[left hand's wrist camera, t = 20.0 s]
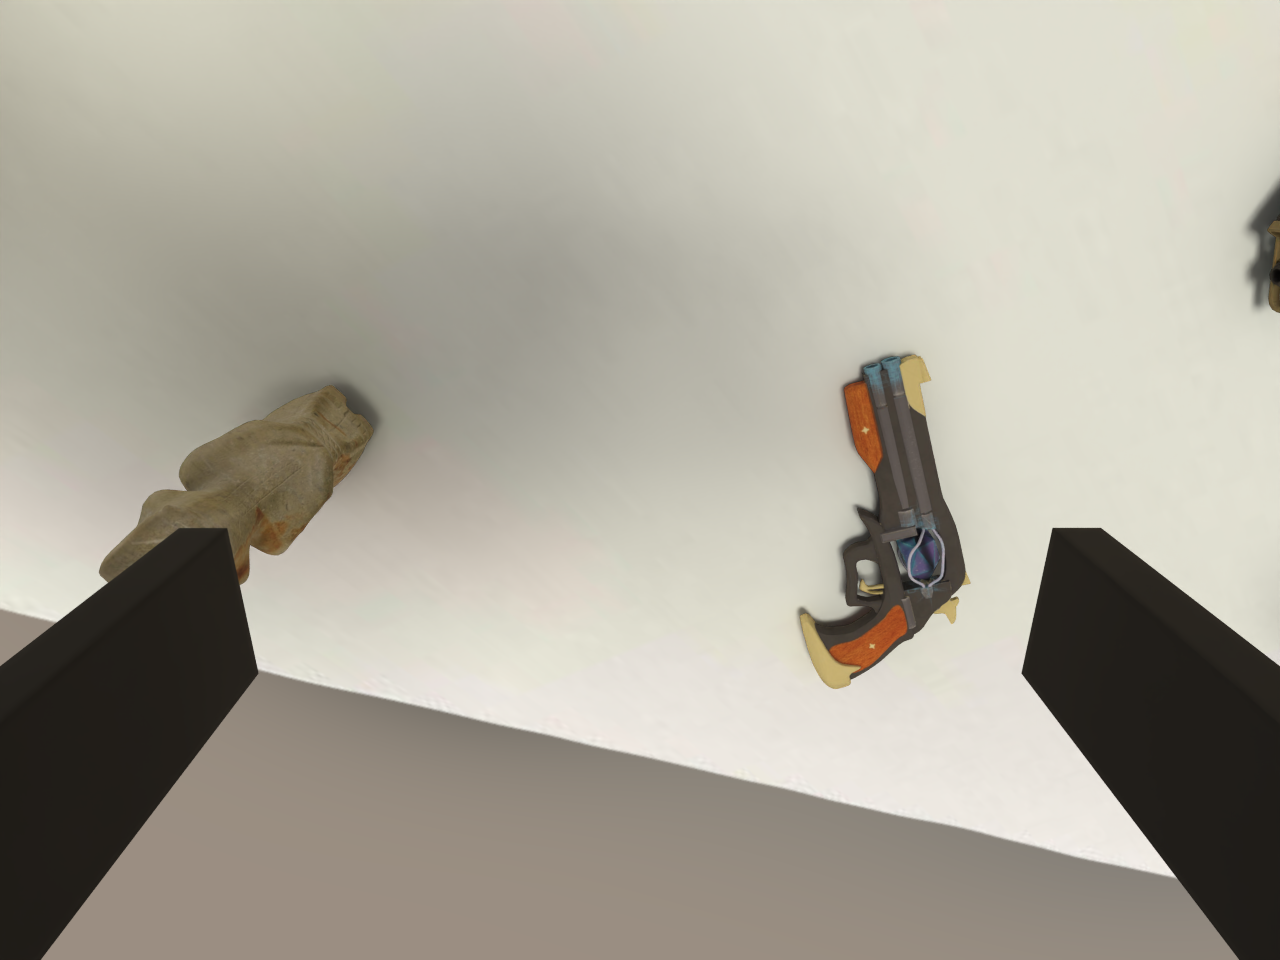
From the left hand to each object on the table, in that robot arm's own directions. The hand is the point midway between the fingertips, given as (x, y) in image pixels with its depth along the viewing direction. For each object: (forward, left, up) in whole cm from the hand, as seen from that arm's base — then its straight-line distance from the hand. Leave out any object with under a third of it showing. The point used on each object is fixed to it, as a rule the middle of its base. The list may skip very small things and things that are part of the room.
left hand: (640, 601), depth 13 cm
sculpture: (-15, -12, -30) cm, 36 cm away
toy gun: (+16, -9, -30) cm, 35 cm away
